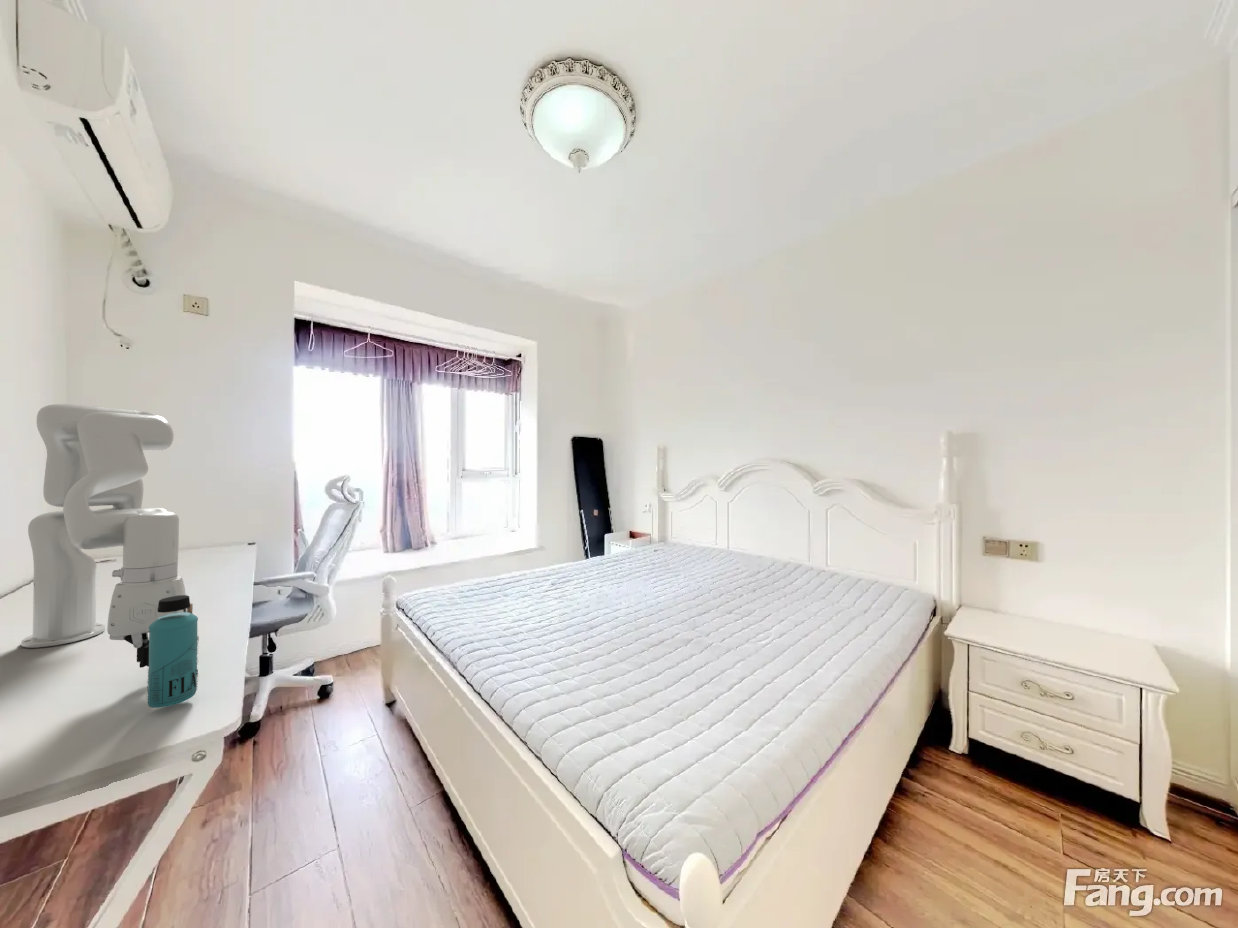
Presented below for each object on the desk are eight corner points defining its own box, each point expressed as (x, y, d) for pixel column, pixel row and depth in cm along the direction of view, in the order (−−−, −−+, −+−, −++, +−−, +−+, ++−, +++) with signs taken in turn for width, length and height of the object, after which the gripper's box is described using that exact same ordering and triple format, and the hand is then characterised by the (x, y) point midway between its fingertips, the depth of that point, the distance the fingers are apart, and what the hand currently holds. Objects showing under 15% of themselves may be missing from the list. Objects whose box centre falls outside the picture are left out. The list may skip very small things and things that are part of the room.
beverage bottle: (163, 719, 73) (166, 604, 73) (135, 714, 74) (137, 601, 74) (207, 699, 79) (209, 593, 79) (180, 694, 81) (182, 590, 81)
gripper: (84, 582, 78) (82, 681, 78) (194, 573, 85) (192, 664, 85) (107, 572, 85) (105, 663, 85) (207, 565, 92) (205, 649, 92)
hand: (149, 663), depth 85 cm, fingers closed
